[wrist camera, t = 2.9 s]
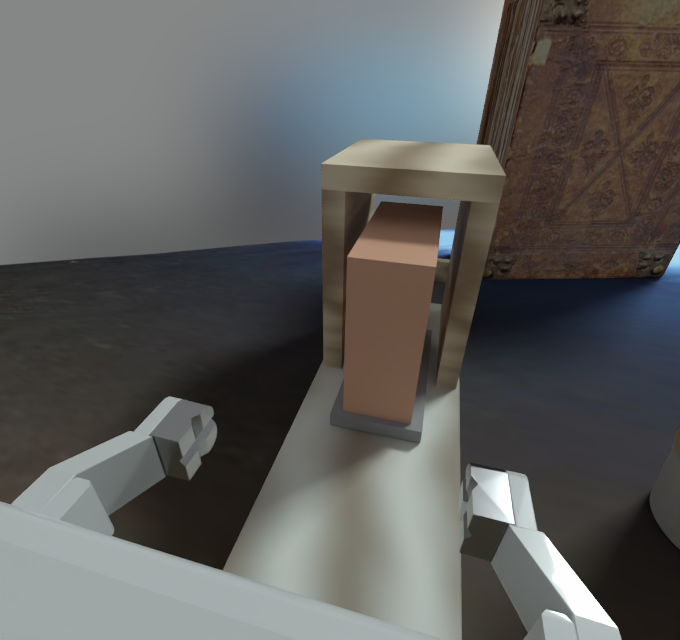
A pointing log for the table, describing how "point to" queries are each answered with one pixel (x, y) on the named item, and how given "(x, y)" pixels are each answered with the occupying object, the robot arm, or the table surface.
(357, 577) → the tunnel track
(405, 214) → the block
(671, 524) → the coffee cup
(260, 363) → the table surface
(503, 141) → the book
